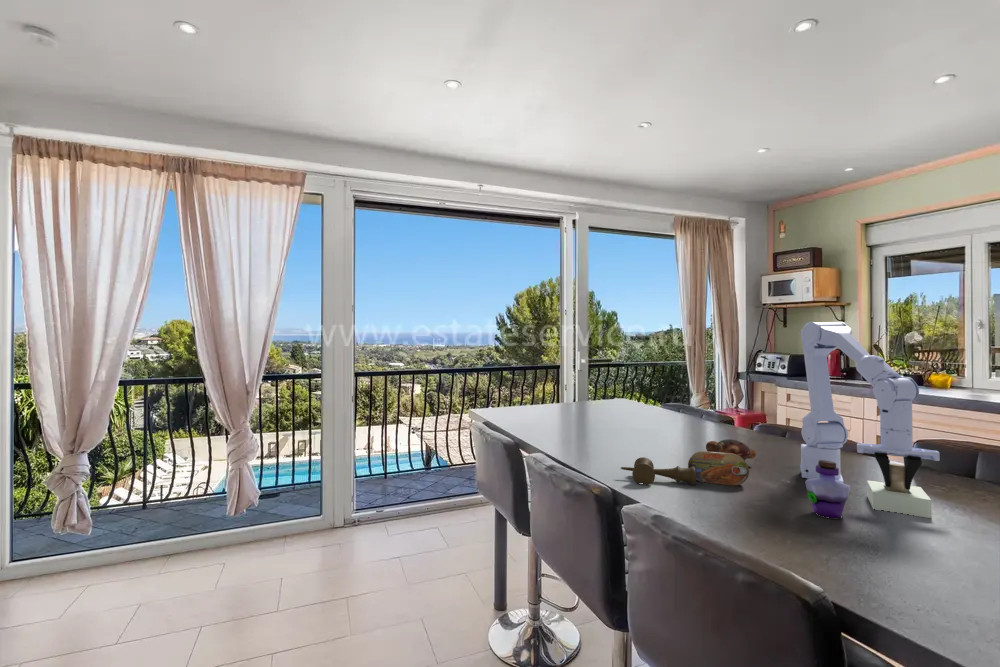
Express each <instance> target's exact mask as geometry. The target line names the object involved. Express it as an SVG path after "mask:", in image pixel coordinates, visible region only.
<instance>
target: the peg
mask: <svg viewBox="0 0 1000 667" xmlns="http://www.w3.org/2000/svg"><path fill="white" fill-rule="evenodd" d="M889 477H890V487H889V491H893V492H900V493H906V475H905V466H904V464H899V463H890V465H889Z"/></svg>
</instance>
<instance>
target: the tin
mask: <svg viewBox="0 0 1000 667" xmlns="http://www.w3.org/2000/svg"><path fill="white" fill-rule="evenodd" d="M692 466H694V467H695V469H696V481H698V482H700V483H704V482H706V483H707V484H716V485H724V486H725V485H726V486H740V485H742V484H744V483H745V482H746V481H747V480H748V478H749V476H750V470H749V465H748V463H747V462H746V460H745V461H744V460H743V458H741V457H740V456H738V455H736V454H732V453H720V452H707V450H706V451H705V450H704V451H703V450H702V451H701V450H699V451H697V452H694V453H693V454H692V455H691V457H690V458H688V462H687V468H690V467H692ZM706 483H705V484H706Z"/></svg>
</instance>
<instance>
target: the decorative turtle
mask: <svg viewBox="0 0 1000 667" xmlns="http://www.w3.org/2000/svg"><path fill="white" fill-rule="evenodd" d="M705 450H706V451H707V452H720V453H732V454H736V455H738V456H740V457H741V458H743V460H744V461H745V462H746V460H747V459H748V460H749V459H750V460H751V459H754V458H755V457H756V455H757V452H756V450H754V449H752V448H750V446H748V445H746V444H745V443H744V442H742V441H739V440H735V439H722V440H720V441H718V442H717V441H714V440H709V441H708V442H707V443H706V444H705Z"/></svg>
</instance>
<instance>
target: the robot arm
mask: <svg viewBox="0 0 1000 667" xmlns="http://www.w3.org/2000/svg"><path fill="white" fill-rule="evenodd" d="M800 338H801V346H802V351H803V357H804V366H805V373H806V374H805V375H806V381H807V382H806V383H807V390H808V397H809V405H810V406H809V408H810V412H808V413H807V414H805V416H803V417H802V426H801V436H802V439H803V441H804V442H805V443H806V444H804V443H801V444H800V459H801V460H800V463H799V470H800V471H801V478H803V479H804V478H805V479H811V478H820V473H817V472H816V465H818V462H819V460H826V461H831V462H835V463H836V467H837V468H839V475H838V476H835V480H836V481H840V482H842V483H844V478H843V476H842V473H841V471H842V470H841V448H843V446H844V444H846V443H847V441H848V438H849V433H848V432H849V431H848V430H847V428H846V426H845V422H844V418H843V417H842V416H841V415H840V414H838V413H836V411H835V409H834V402H833V394H832V388H831V387H832V386H831V380H830V379H831V378H830V372H829V365H828V363H829V362H828V355H829V354H830V353H831V352H833V351H835V350H836V349H837V348H838V349H839V350H840V351H842V352H843V354H845V355H846V356H847V357H849V358H850V359H851V360H852V361H853V362H855V364H856V366H855V369H856V371H857V372H858V373H859V374H860V375H861V376H862V377H863V378H864V379H865V380H866V381H867V383H869V384H870V386H871V387H873V388H872V393H873V395H874V397H875V399H876V402H877V407H878V409H879V421H880V423H879V424H880V426H879V428H880V430H879V434H880V444H878V443H877V444H876V443H858V442H857V443H856V451H857V453H858V454H864V453H865V454H872V455H873V456H874V458H875V460H876V462H877V464H878V467H879V469H880V471H881V474H882V476H883V477H882V478H883V481H884V483H885V485H886V487H890V477H889V465H890V464H891V460H890V458H889V456H890V457H891V456H893V457H894V456H895V457H902V458H903V465H904V466H905V475H906V489H908V490H910V486H912V482H913V479H914V477H915V475H916V473H917V471H918V470H919V469H920V467H921V466H922V464H923V460H931V461H936V462H939V461H940V459H941V458H940V457H941V456H940V452H939V451H938V450H936V449H935V450H934V449H933V450H931V449H926V448H917V447H914V446H913V444H914V442H913V439H914V437H913V436H914V435H913V402H915V401H916V400H917V399H918V397H919V395H920V389H919V385H918V384H917V382H916V381H915V380H914V379H913V378H912V377H910V376H903V375H902V374H899V372H897V371H896V370H894V369H893V368H892V367H891V366H890V365H889V364H888V363H887V362H886V361H885V359H884V358H883V356H880V355H879V356H878V355H876V354H875V355H871V354H870V353H869V352H868V351H867V350H866V348H865V347H863V345H862V344H861V343H860V342H859V341H858V340H857V339H856V338H855V336H853V329H852V328H851V327H849V326H848V325H847V323H846V322H843V321H821V322H820V321H819V322H817V321H816V322H815V321H809V322H807V323H805V324H804V325H803V328H801V330H800ZM922 459H923V460H922ZM844 484H845V483H844Z"/></svg>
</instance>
